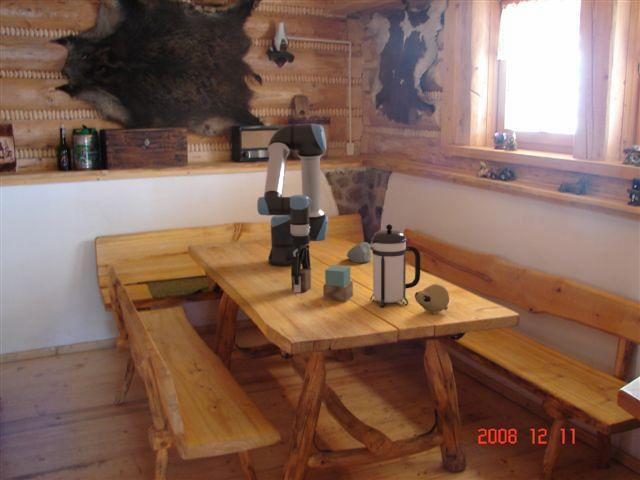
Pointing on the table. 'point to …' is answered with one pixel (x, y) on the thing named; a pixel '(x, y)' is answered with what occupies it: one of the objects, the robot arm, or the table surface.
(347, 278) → the tower top
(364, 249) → the decorative stone
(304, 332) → the table surface
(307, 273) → the walnut block
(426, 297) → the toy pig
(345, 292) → the tower base
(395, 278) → the coffee press
